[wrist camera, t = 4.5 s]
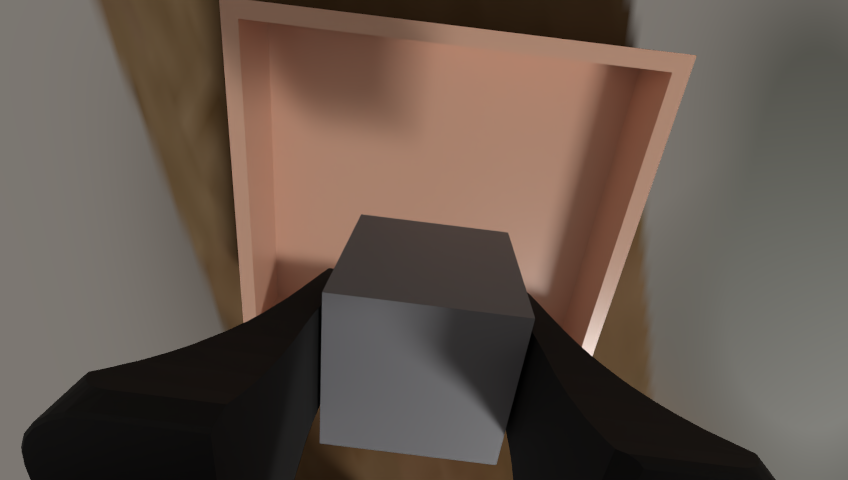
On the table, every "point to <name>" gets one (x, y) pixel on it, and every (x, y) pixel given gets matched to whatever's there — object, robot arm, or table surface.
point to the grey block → (422, 340)
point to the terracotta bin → (440, 145)
